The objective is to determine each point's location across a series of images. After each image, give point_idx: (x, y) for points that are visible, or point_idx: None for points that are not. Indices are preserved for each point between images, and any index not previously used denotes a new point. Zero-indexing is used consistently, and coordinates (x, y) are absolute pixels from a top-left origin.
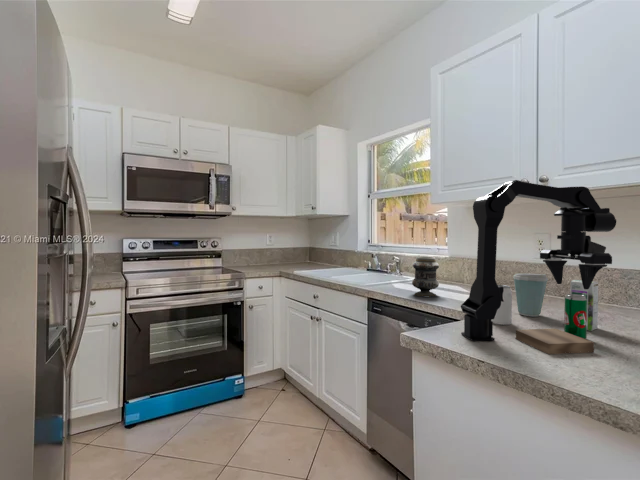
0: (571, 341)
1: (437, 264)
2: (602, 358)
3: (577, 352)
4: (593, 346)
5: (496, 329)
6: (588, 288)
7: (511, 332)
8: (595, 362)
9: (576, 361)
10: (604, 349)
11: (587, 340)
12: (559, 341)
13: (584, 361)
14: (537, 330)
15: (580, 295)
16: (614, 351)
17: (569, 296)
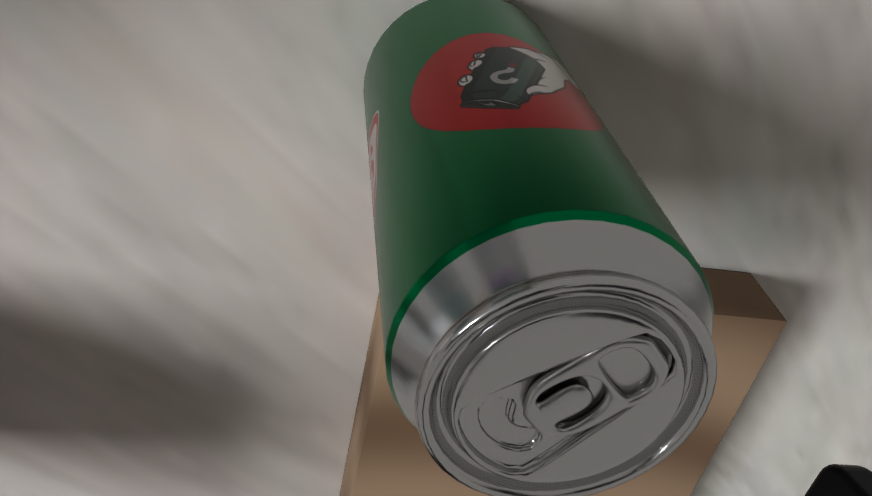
0: (691, 433)
1: None
2: (829, 317)
3: None
4: (769, 304)
5: (84, 482)
6: (865, 480)
7: (184, 438)
8: (831, 400)
9: (766, 466)
10: (761, 140)
11: (739, 327)
12: (653, 492)
13: (790, 435)
14: (400, 450)
15: (618, 350)
16: (825, 112)
17: (539, 489)
